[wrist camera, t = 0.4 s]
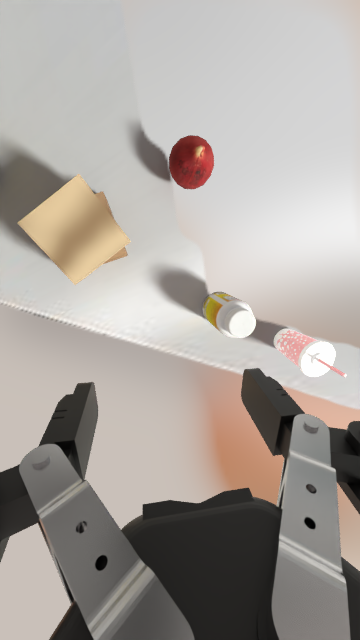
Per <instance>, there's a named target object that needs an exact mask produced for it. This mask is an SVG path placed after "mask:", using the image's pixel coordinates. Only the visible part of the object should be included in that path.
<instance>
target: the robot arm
mask: <svg viewBox="0 0 360 640" xmlns="http://www.w3.org/2000/svg"><path fill="white" fill-rule="evenodd" d="M241 397H242V401H243V404H244V405H245V407H246V409H247V411H248V412H249V414H250V416H251V418H252V420H253V421H254V423H255V425H256V427H257V428H258V430H259V432H260V433H261V435H262V437H263V438H264V441H265V442H266V444H267V446H268V448H269V449H270V451H271V453H272V455H273V456H275V455H283V457H284V458H285V459H284V463H283V469H282V476H281V482H280V489H279V495H278V501H277V506H276V505H274V504H272V503H270V502H268V501H266V500H263V499H259V498H256V497H252V494H251V492H250V489H249V488H243V489H237V490H231V491H224V492H222V493H220V494H218V495H216V496H214V497H212V498H210V499H208V500H206V501H204V502H202V503H189V502H180V501H172V500H168V501H162V502H156V503H150V504H143V515H141V516H139V517H137V518H135V519H134V520H132V521H131V522H129V523H128V524H127V525H126V526H125V527H124V528H123V529H122V530H120V528H119V527H118V525H117V524H116V522H115V521H114V519H113V518H112V516H111V515H110V514H109V512H108V510H107V509H106V508H105V506H104V504H103V503H102V502H101V500H100V499H99V497H98V496H97V494H96V493H95V491H94V490H93V488H92V487H91V485H90V484H89V483H88V481H86V480H84V479H85V474H86V469H87V465H88V460H89V455H90V451H91V446H92V442H93V437H94V433H95V428H96V423H97V419H98V405H97V398H96V391H95V385H94V383H93V382H89V383H78V384H77V386H76V388H75V391H74V393H73V394H70V395H66V396H65V397H63V398H62V399H61V400H60V402H58V404H57V407H56V409H55V412H54V413H53V415H52V418H51V420H50V422H49V424H48V427H47V429H46V431H45V433H44V435H43V437H42V440H41V442H40V444H39V446H38V447H37V448H35V449H33V450H32V451H30V452H29V453H28V454H27V455H26V456H25V457H24V458H23V460H22V461H21V463H20V464H19V465H18V466H15V467H13V468H11V469H8V470H5V471H3V472H0V562H1V559H2V556H3V553H4V551H5V548H6V545H7V542H8V540H9V537H10V536H11V535H13V534H15V533H17V532H19V531H22V530H23V529H26V528H28V527H30V526H32V525H34V524H36V523H38V525H39V527H40V530H41V532H42V534H43V537H44V539H45V541H46V544H47V546H48V548H49V551H50V553H51V556H52V558H53V561H54V563H55V565H56V568H57V570H58V573H59V576H60V578H61V581H62V583H63V586H64V588H65V591H66V593H67V596H68V598H69V600H70V603H71V606H70V608H69V609H68V611H67V612H66V614H65V615H64V617H63V619H62V620H61V622H60V623H59V625H58V627H57V628H56V630H55V631H54V633H53V634H52V636H51V637H50V639H49V640H360V571H358V570H357V569H356V568H355V567H353V566H352V565H351V564H350V563H349V562H347V561H346V560H345V559H343V558H342V557H341V548H340V532H339V514H338V498H337V483H338V484H339V485H340V487H341V488H342V490H343V491H344V492H345V494H346V495H347V497H348V498H349V500H350V501H351V503H352V504H353V506H354V507H355V508H356V510H357V511H358V513H359V514H360V421H353V422H351V423H350V424H349V425H348V428H347V430H344V429H337V428H330V427H328V426H327V425H326V424H325V423H324V422H323V421H322V420H320V419H319V418H317V417H315V416H312V415H309V414H305V413H304V412H303V411H302V410H301V408H300V407H299V406H298V405H297V404H296V402H295V401H294V400H293V399H292V398H291V397H290V396H289V395H288V393H287V392H286V391H285V390H284V389H283V387H282V386H281V385H280V384H279V383H278V382H277V381H276V380H274V379H272V378H271V377H266V376H265V375H264V373H263V372H262V371H261V370H260V369H259V368H256V369H245V370H244V373H243V382H242V391H241Z"/></svg>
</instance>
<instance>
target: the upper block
mask: <svg viewBox="0 0 360 640" xmlns="http://www.w3.org/2000/svg"><path fill="white" fill-rule="evenodd" d="M18 224H19V225H20V226H21V227H22V228H23V229H24V231H25V232H26V233H27V234H28V235H29V236H30V237H31V238H32V239H33V240H34V241H35V242H36V244H37V245H38V246H39V247H40V248H41V249H42V250H43V251H44V252H45V253H46V254H47V255H48V256H49V258H50V259H51V260H52V261H53V262H54V263H55V264H56V265H57V266H58V267H59V268H60V269H61V270H62V272H63V273H64V274H65V275H66V276H67V277H68V278H69V279H70V280H71V281H72V282H73V283H74V284H75V285H76V284H77V283H78V282H80V281H81V280H83V279H84V278H85V277H87V276H88V275H89V274H91V273H92V272H93V271H94V270H96V269H97V268H98V267H99V266H101V265H102V264H103V263H104V262H106V261H107V260H108V259H110V258H111V257H112V256H113V255H115V254H116V253H117V252H118V251H120V250H121V249H122V248H124V247H125V246H126V245H127V244H129V243H130V242H131V241H130V240H129V238H128V237H127V236H126V234H125V233H124V232H123V231H122V229H121V228H120V227H119V225H118V224H117V223H116V221H115V220H114V219H113V217H112V216H111V215H110V214H109V212H108V211H107V210H106V208H105V207H104V206H103V204H102V203H101V202H100V201H99V199H98V198H97V197H96V195H95V194H94V193H93V191H92V190H91V189H90V187H89V186H88V185H87V184H86V182H85V181H84V180H83V178H82V177H81V176H80V174H78V175H77V176H75V177H74V178H73V179H72V180H70V181H69V182H68V183H67V184H65V185H64V186H63V187H62V188H60V189H59V190H58V191H57V192H55V193H54V194H53V195H52V196H50V197H49V198H48V199H47V200H45V201H44V202H43V203H42V204H40V205H39V206H38V207H37V208H35V209H34V210H33V211H32V212H30V213H29V214H28V215H27V216H25V217H24V218H23V219H22V220H20V221H19V222H18Z"/></svg>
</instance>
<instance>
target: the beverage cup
mask: <svg viewBox="0 0 360 640" xmlns="http://www.w3.org/2000/svg"><path fill="white" fill-rule="evenodd" d="M274 346H275V347H276V349H278V350H279V351H280V352H281V353H282V354H284V355H285V356H286V357H287V358H289V359H290V360H291V361H292V362H293V363H295V364H296V365H297V366H298V367H299V368H300V369H301V371H302V372H303V373H304V374H306V375H308V376H310V377H317V376H320V375H323V374H324V373H325V372H327V371H328V370H329V369H331V370H333V371H335V372H336V373H338V374H340V375H341V376H343V377H346V376H347V375H346V374H345V373H343V372H341V371H339V370H338V369H336V368H334V367H333V366H332V365H333V363H334V360H335V350H334V348H333V346H332V345H330V344H329V343H327V342H324V341H319V340H316V339H314V338H311V337H309V336H306V335H304V334H301V333H299V332H296V331H294V330H291V329H287V328H285V329H282V330H280V331H279V332H278V333H277V334H276V336H275V338H274Z"/></svg>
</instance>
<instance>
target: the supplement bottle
mask: <svg viewBox="0 0 360 640" xmlns="http://www.w3.org/2000/svg"><path fill="white" fill-rule="evenodd" d="M202 310H203V314H204V316H205V318H206V319H207V320H208V321H209V322H210V323H211V324H212V325H213V326H214V327H216V328H217V329H218V330H219V331H220V332H221V333H222V334H224V335H225V336H228V337H237V338H244V337H247V336H248V335H250V334H251V333H252V332H253V330H254V328H255V326H256V319H255V316H254V315H253V312H252V310H251V308H250V306H249V305H248V304H247V303H245V302H243V301H241V300H239V299H237V298H235V297H232V296H230V295H228V294H226V293H223V292H215V293H212V294H210V295H209V296H208V297H207V298H206V299H205V301H204V303H203V307H202Z"/></svg>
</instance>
